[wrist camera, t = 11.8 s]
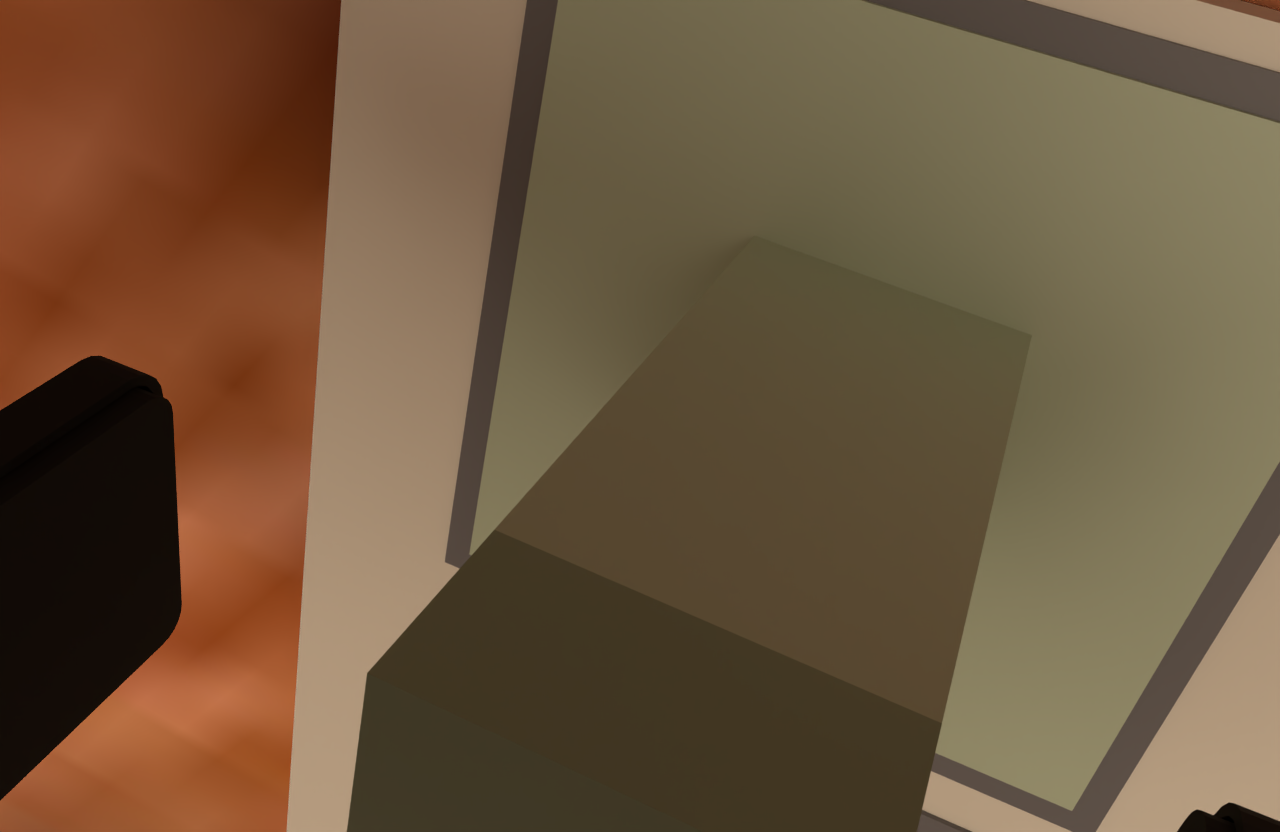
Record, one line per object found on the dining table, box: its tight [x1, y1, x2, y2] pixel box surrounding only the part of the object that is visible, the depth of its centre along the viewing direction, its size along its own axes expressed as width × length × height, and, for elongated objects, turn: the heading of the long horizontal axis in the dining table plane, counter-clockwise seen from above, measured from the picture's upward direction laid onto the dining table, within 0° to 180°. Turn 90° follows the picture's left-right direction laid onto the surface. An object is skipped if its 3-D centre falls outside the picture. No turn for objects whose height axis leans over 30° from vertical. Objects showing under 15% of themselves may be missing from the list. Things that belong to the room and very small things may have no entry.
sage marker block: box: [347, 236, 1032, 832], centre depth 13 cm, size 4×4×10 cm
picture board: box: [287, 0, 1280, 832], centre depth 21 cm, size 26×18×1 cm
